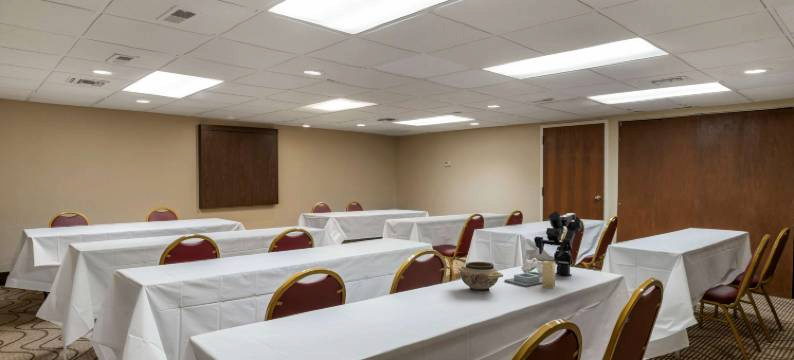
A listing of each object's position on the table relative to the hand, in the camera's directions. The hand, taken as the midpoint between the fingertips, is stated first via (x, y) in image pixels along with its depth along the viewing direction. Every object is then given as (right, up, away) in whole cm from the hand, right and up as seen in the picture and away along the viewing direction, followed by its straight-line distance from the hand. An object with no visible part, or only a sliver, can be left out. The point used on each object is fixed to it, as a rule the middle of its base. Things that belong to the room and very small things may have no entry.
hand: (548, 255), depth 234 cm
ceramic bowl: (-38, -15, -15) cm, 44 cm away
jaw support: (0, -15, +23) cm, 27 cm away
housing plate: (-11, -14, +3) cm, 18 cm away
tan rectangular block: (-2, -15, -7) cm, 17 cm away
